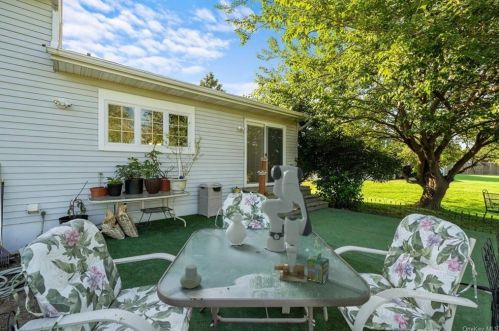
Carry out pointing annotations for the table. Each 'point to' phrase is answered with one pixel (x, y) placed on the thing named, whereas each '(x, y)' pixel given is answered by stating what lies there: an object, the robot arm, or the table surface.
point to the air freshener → (190, 277)
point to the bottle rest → (293, 276)
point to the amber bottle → (287, 267)
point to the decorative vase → (236, 230)
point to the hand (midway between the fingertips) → (291, 268)
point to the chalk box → (318, 268)
